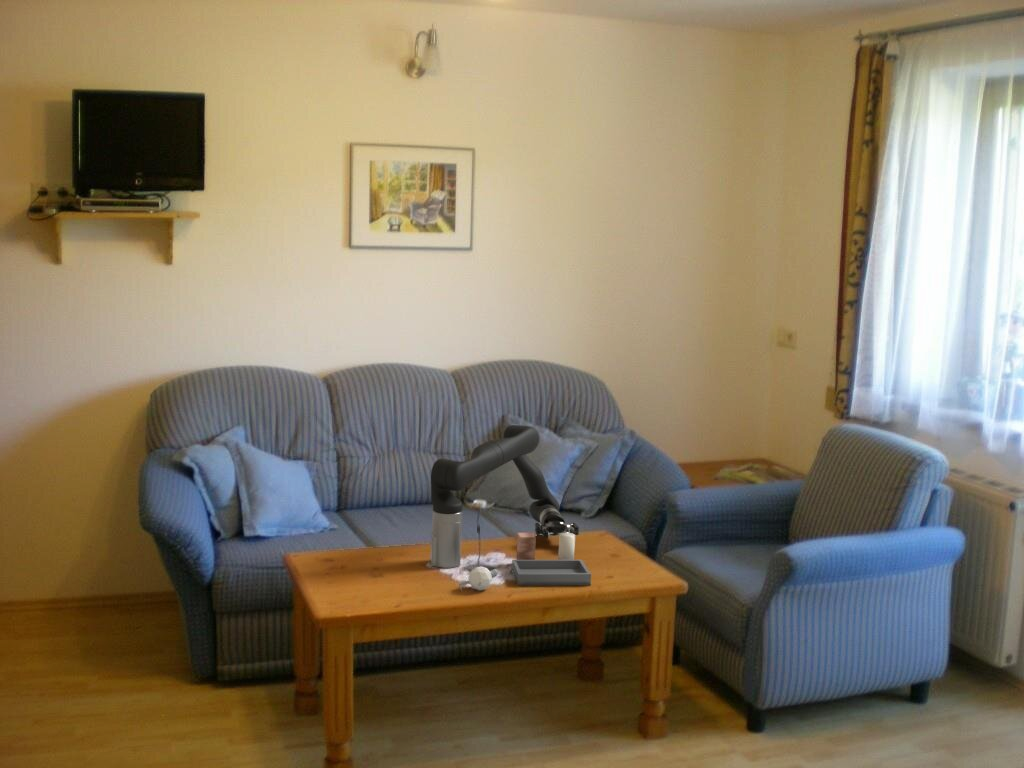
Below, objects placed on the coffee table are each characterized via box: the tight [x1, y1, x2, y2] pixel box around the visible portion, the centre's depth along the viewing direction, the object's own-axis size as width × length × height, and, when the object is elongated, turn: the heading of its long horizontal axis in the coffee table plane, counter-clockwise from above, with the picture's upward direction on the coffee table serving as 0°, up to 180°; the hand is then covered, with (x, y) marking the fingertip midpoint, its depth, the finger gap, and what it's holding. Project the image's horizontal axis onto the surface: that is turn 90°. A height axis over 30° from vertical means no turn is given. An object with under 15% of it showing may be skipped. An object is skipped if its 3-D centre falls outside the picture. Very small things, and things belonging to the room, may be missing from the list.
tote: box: [511, 559, 592, 587], centre depth 336 cm, size 22×14×4 cm, turn 98°
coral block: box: [515, 532, 537, 560], centre depth 347 cm, size 5×5×10 cm
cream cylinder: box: [557, 533, 576, 560], centre depth 349 cm, size 5×5×10 cm
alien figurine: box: [458, 565, 499, 592], centre depth 323 cm, size 7×7×12 cm
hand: (560, 535), depth 360 cm, fingers open, 8 cm apart
